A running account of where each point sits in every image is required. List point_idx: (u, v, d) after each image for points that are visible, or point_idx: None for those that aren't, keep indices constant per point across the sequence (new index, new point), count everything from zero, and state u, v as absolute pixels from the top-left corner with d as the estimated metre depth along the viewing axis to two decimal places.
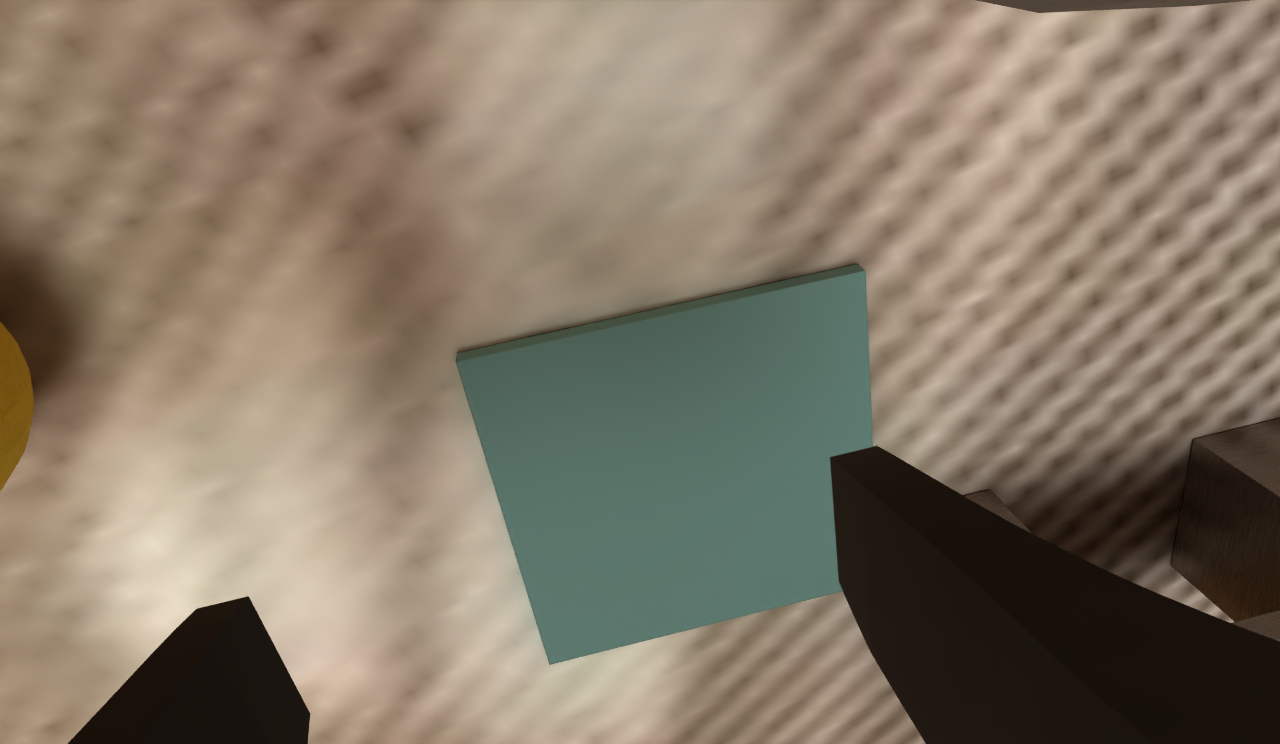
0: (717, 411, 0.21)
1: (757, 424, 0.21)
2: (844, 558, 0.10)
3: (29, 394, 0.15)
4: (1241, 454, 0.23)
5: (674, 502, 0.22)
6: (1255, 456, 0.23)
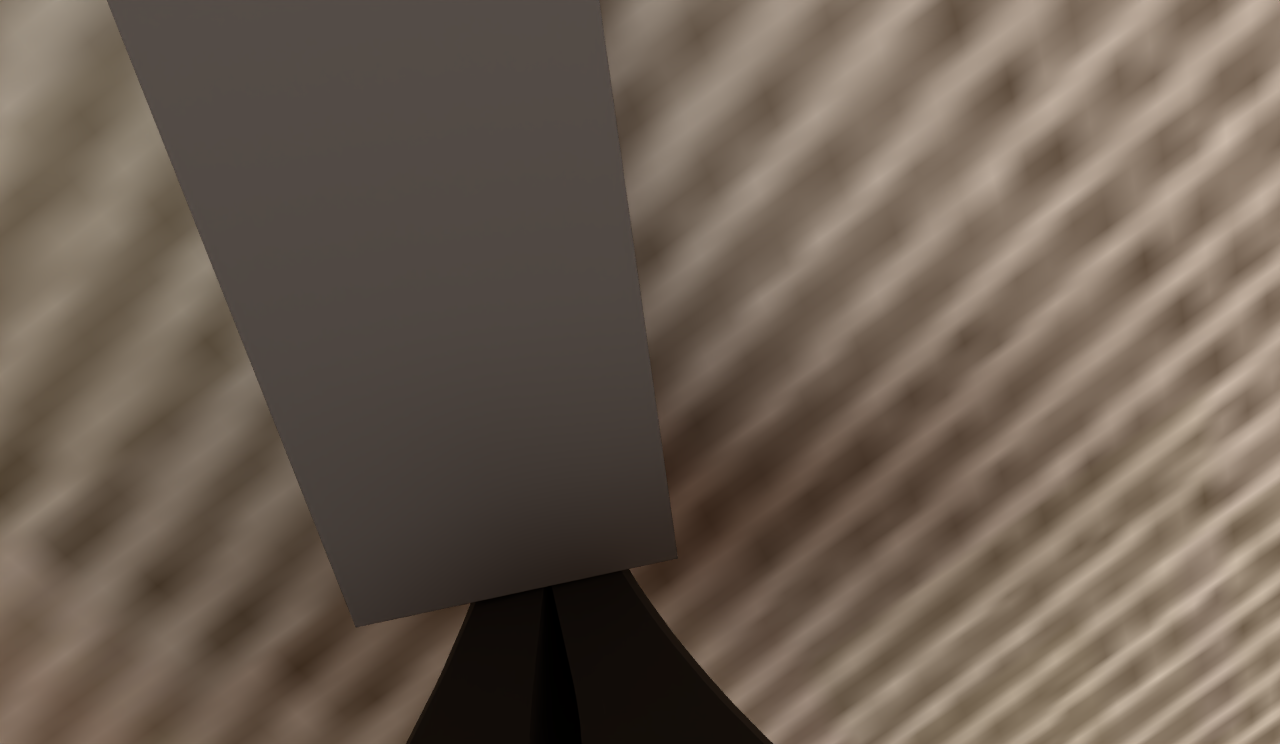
0: None
1: None
2: None
3: None
4: None
5: None
6: None
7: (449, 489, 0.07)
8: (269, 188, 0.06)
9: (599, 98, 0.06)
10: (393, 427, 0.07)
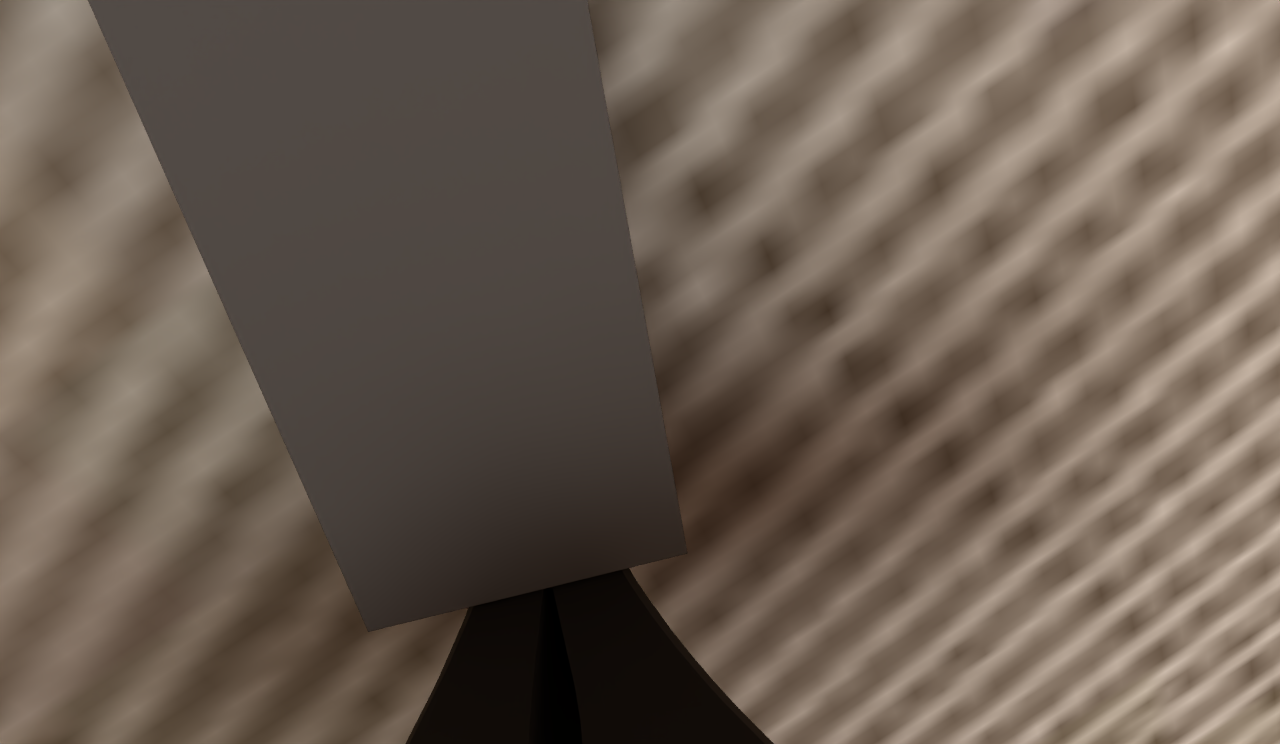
0: None
1: None
2: None
3: None
4: None
5: None
6: None
7: (455, 491, 0.07)
8: (263, 197, 0.06)
9: (590, 93, 0.06)
10: (397, 431, 0.07)
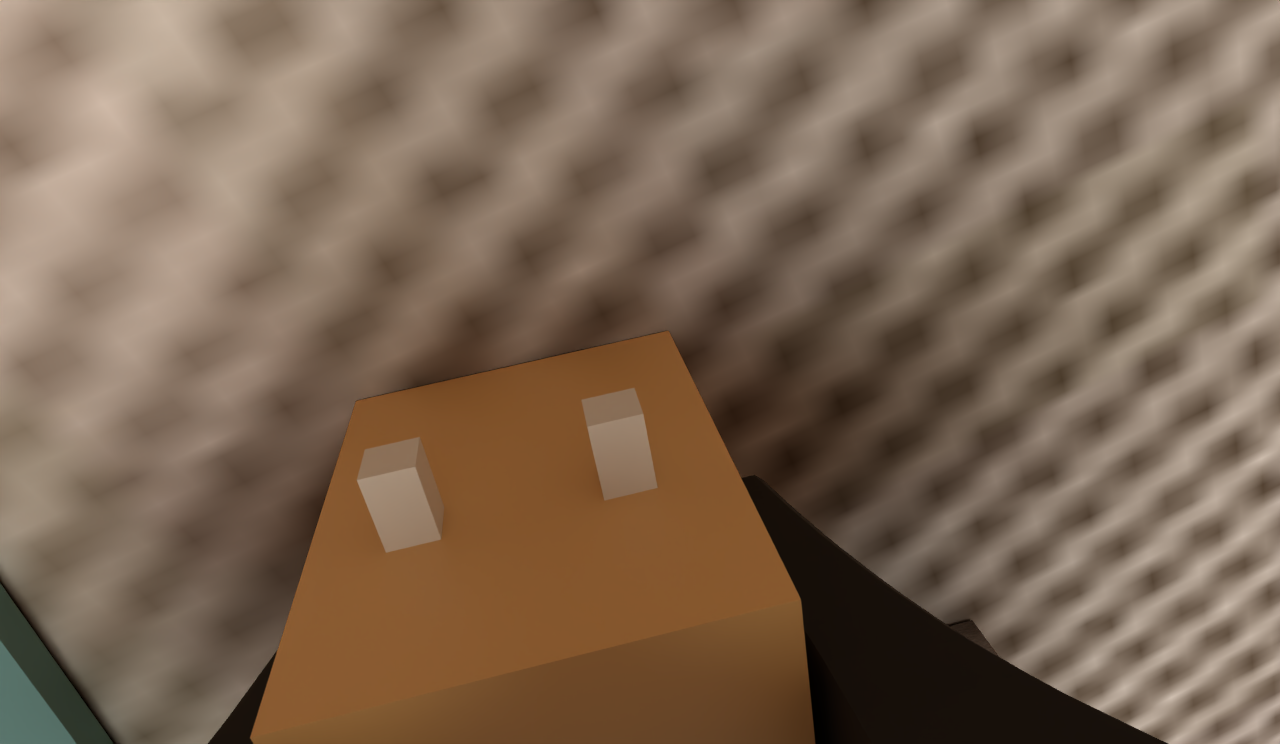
0: None
1: None
2: None
3: None
4: None
5: None
6: None
7: None
8: None
9: None
10: None
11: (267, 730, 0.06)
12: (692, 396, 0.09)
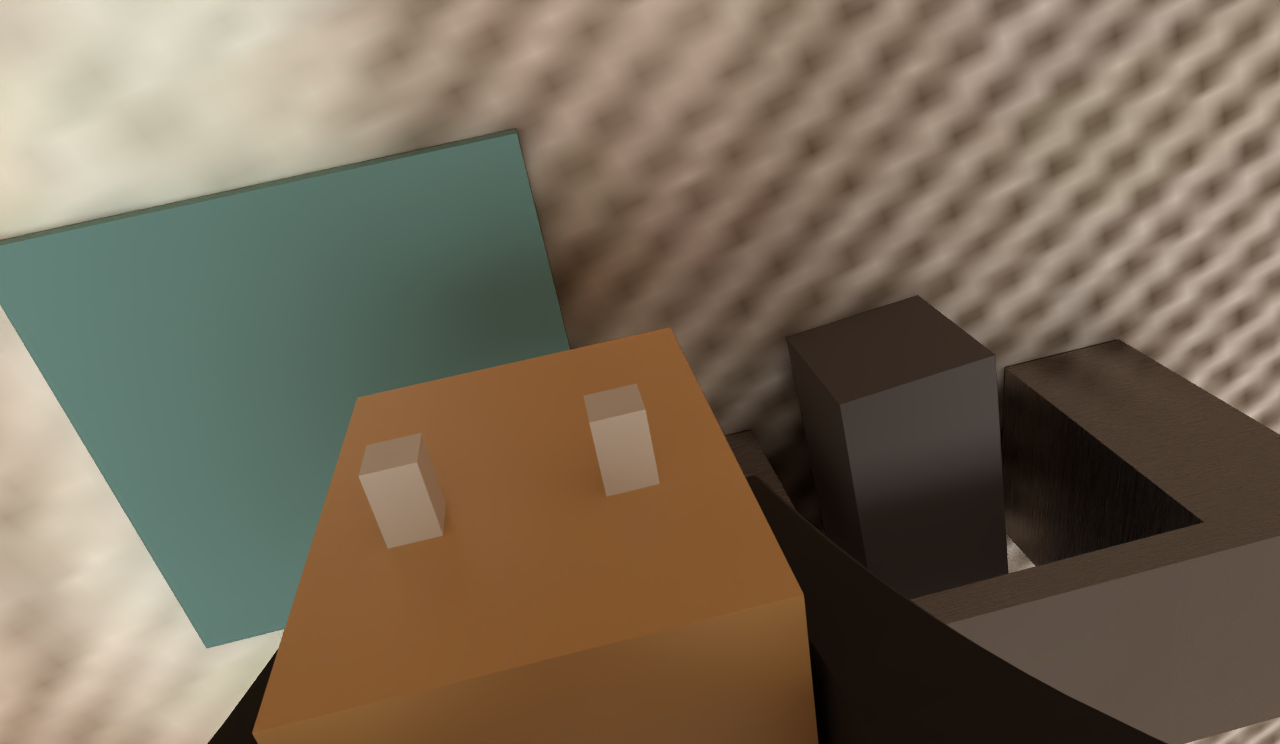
0: (353, 323, 0.16)
1: (412, 341, 0.17)
2: None
3: None
4: (1055, 382, 0.19)
5: (323, 442, 0.17)
6: (1071, 384, 0.19)
7: None
8: None
9: None
10: None
11: (270, 725, 0.06)
12: (694, 392, 0.09)
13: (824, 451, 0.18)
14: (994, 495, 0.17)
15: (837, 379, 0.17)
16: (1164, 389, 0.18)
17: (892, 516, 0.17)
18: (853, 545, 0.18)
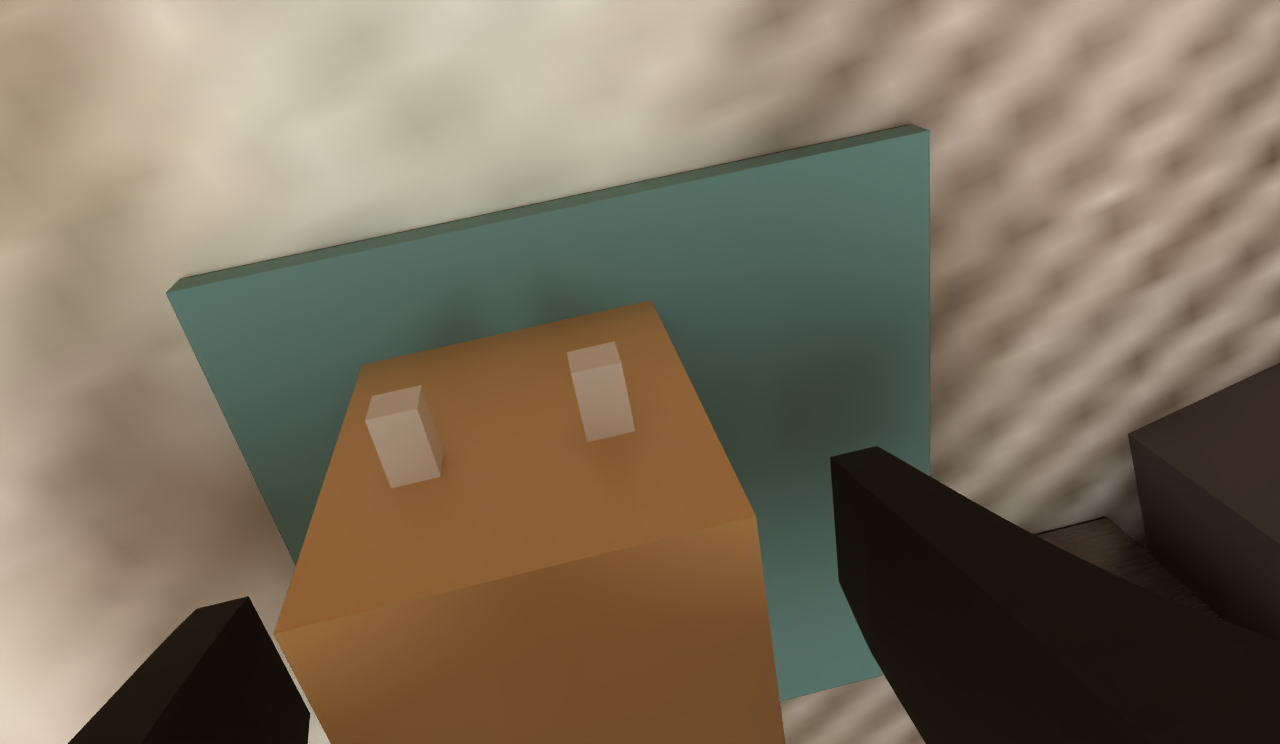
0: None
1: (735, 412, 0.12)
2: (844, 558, 0.10)
3: None
4: None
5: None
6: None
7: None
8: None
9: None
10: None
11: (289, 627, 0.07)
12: (670, 355, 0.10)
13: (1204, 575, 0.14)
14: None
15: (1255, 504, 0.12)
16: None
17: None
18: None
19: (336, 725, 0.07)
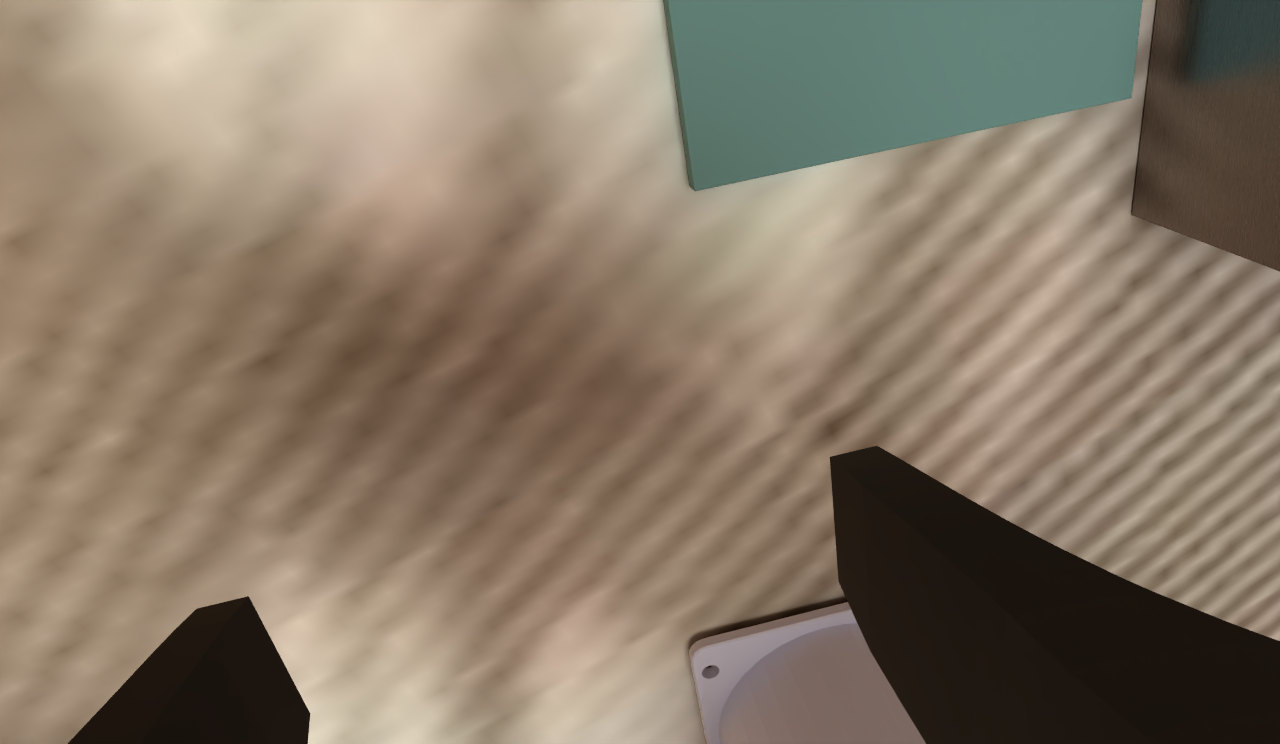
0: None
1: None
2: (844, 558, 0.10)
3: None
4: None
5: None
6: None
7: None
8: None
9: None
10: None
11: None
12: None
13: None
14: None
15: None
16: None
17: None
18: None
19: None
